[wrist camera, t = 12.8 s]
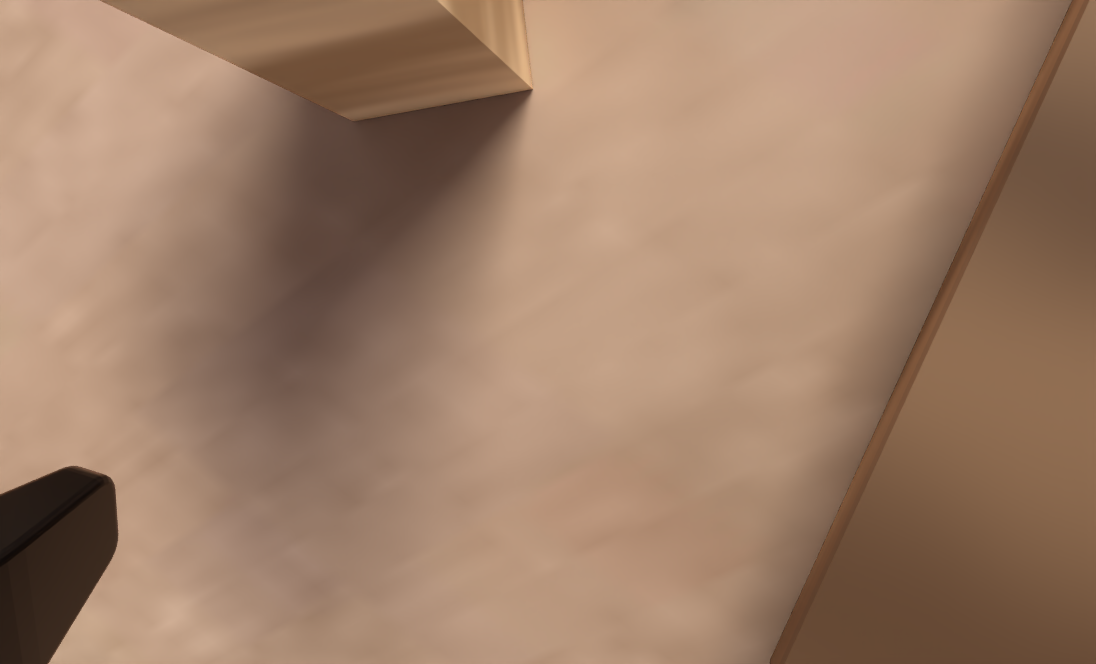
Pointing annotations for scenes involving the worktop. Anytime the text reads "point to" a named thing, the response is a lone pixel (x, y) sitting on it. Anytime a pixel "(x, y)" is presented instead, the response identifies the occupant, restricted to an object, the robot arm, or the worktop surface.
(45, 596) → the robot arm
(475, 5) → the pale gold square block
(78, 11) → the worktop surface
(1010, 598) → the brown slab with collar
